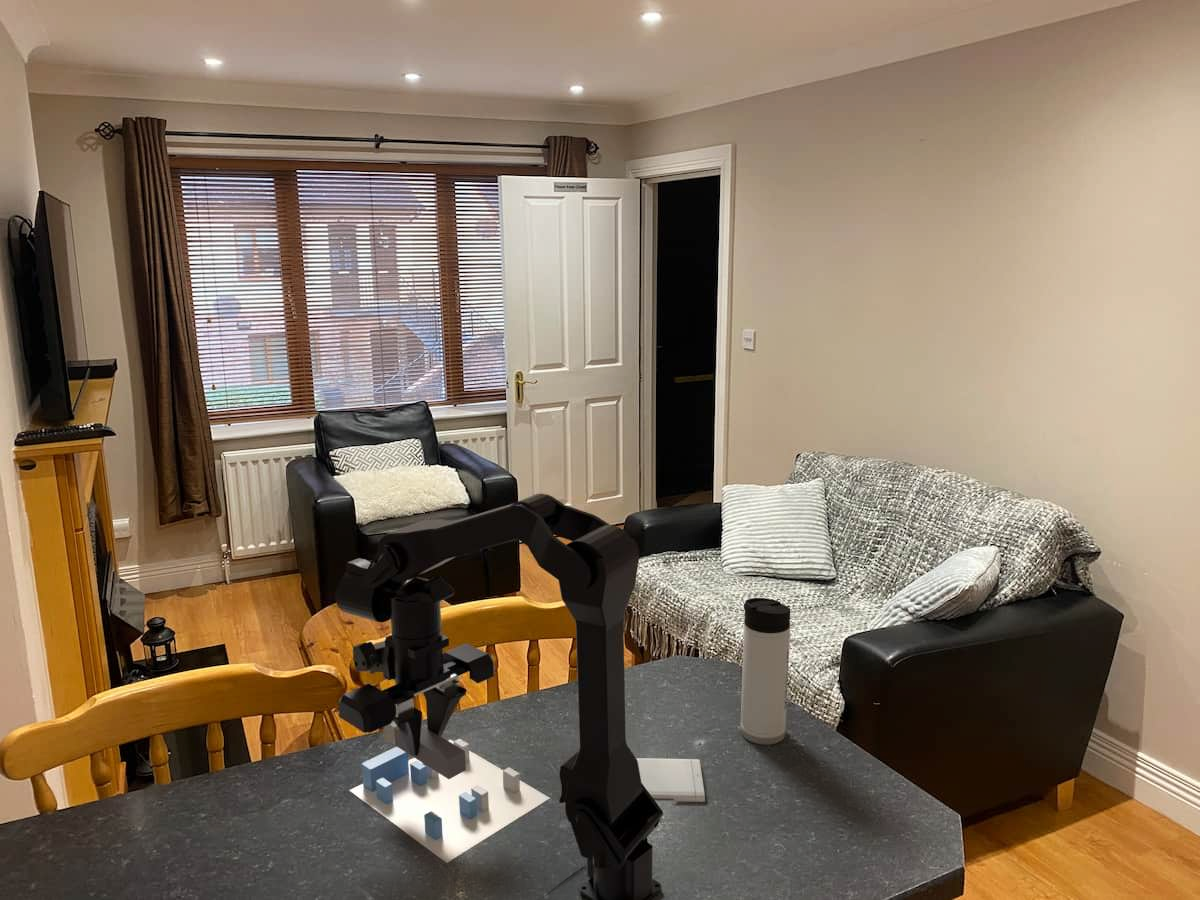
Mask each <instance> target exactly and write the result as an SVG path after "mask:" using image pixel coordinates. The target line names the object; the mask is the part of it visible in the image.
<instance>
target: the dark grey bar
mask: <svg viewBox="0 0 1200 900" xmlns="http://www.w3.org/2000/svg"><path fill="white" fill-rule="evenodd" d="M382 728H383V738H384V740H386V741H387V742H389V743H390V744H392V745H394V746H395V747H398V748H400V749H401V750H403V751H405V752H406V753H408V756H411V757H413V758H416V759H417V760H419V761H420V762H422V763H424V764H425V765H427V766H428V767H430V768H431V769H433V770H435V771H436V772H438V773H439V774H441V775H443V776H444V777H446V778H447V779H451V778H452V777H454V776H456V775H458V774H460V773H462V772H463V771H465V770H466V761H465V751H464V750H463V749H461V748H459V747H457V746H456V745H454V744H452V743H451V742H449V741H448V740H447V739H445V738H444V737H442V736H441V737H440V736H439V735H437V734H435V733H434V732H432V731H430V730H428V729H427V727H425V726H423V725H422V724H421V735H420V747H419V752H418V755H417V756H414V755H412V754H411V753H410V752H409V750H408V748H407V746H406V744H405V741H404V739H403V737H402V735H401V733H400V731H399V729H398V727H397V725H396V724H395V722H394V721H392V723H391V724H389V725H387V726H384V727H382Z"/></svg>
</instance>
